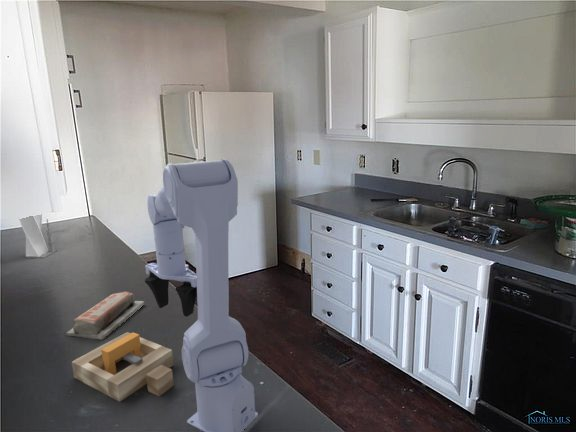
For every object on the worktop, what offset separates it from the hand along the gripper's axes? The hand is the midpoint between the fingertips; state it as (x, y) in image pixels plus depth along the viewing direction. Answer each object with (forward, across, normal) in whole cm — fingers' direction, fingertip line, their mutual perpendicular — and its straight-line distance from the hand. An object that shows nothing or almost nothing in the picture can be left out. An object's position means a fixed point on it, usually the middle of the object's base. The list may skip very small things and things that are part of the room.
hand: (175, 310), depth 93 cm
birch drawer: (+9, +3, +12) cm, 16 cm away
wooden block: (+8, +3, +12) cm, 15 cm away
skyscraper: (+10, +90, -18) cm, 92 cm away
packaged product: (+10, +26, 0) cm, 28 cm away
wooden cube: (+9, -8, +12) cm, 17 cm away
